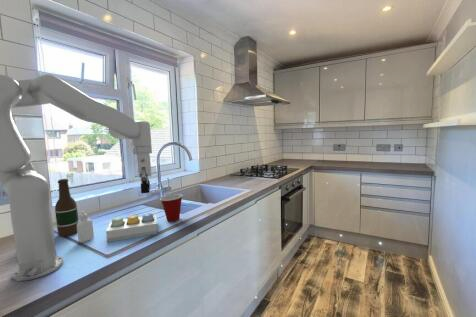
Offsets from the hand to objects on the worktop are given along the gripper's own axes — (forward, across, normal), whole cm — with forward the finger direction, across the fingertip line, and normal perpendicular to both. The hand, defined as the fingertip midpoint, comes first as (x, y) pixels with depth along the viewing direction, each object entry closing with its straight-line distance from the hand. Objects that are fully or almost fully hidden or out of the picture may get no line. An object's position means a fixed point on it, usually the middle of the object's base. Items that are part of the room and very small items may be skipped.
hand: (145, 190), depth 104 cm
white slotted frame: (+18, 0, +6) cm, 19 cm away
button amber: (+15, 0, +6) cm, 16 cm away
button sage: (+15, 0, +12) cm, 19 cm away
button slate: (+15, 0, 0) cm, 15 cm away
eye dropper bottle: (+18, 0, +24) cm, 30 cm away
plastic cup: (+18, +8, -11) cm, 23 cm away
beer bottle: (+18, +11, +33) cm, 39 cm away
